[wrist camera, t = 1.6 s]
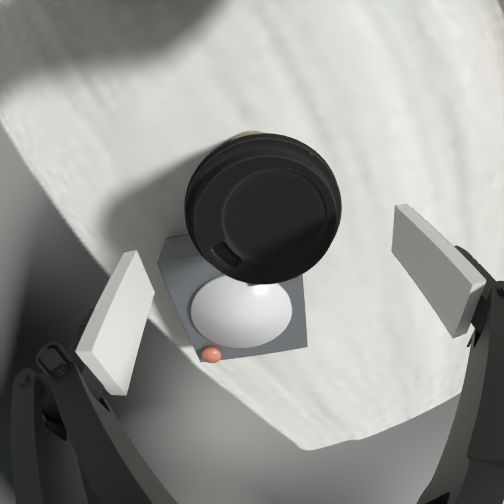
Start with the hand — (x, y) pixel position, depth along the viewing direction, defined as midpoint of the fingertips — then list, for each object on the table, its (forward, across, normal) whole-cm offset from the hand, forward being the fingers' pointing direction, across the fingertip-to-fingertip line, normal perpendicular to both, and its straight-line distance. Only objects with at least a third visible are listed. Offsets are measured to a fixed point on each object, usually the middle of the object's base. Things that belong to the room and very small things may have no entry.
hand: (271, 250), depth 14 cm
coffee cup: (+17, 0, 0) cm, 17 cm away
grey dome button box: (+17, -4, -15) cm, 23 cm away
